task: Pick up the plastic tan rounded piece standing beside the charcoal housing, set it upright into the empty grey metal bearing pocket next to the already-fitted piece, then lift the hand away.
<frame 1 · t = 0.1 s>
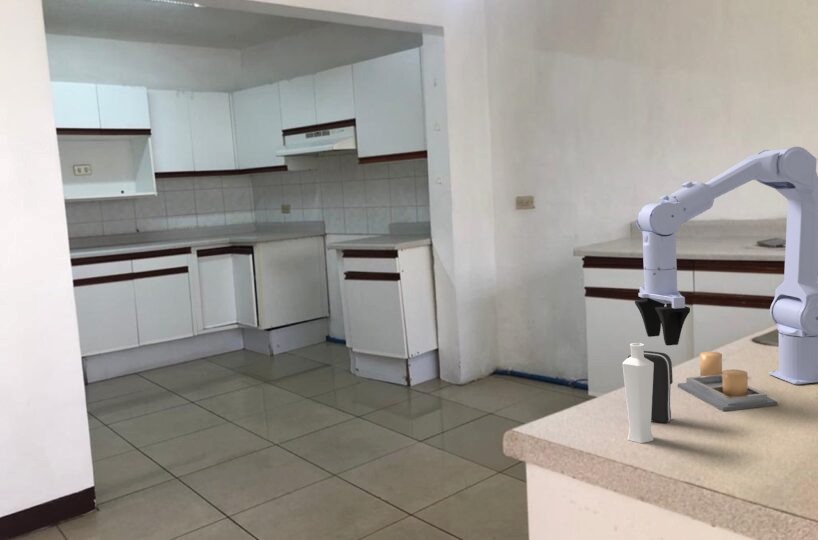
hand: (662, 340, 125), 10 cm above the worktop, fingers open, 7 cm apart
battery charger: (651, 419, 113), on the worktop
tan rounded piece: (711, 375, 134), on the worktop
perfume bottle: (638, 439, 104), on the worktop
housing: (724, 395, 121), on the worktop
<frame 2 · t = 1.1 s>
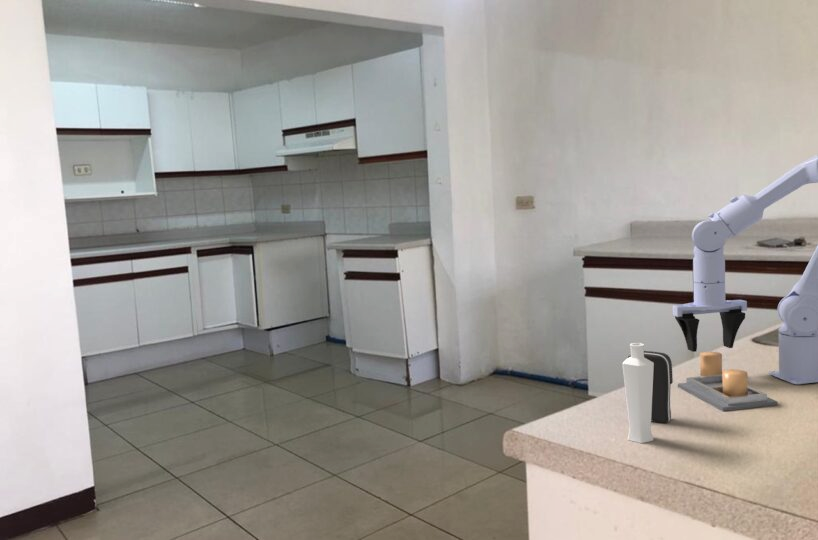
hand: (710, 348, 133), 6 cm above the worktop, fingers open, 7 cm apart
nothing on the worktop moved.
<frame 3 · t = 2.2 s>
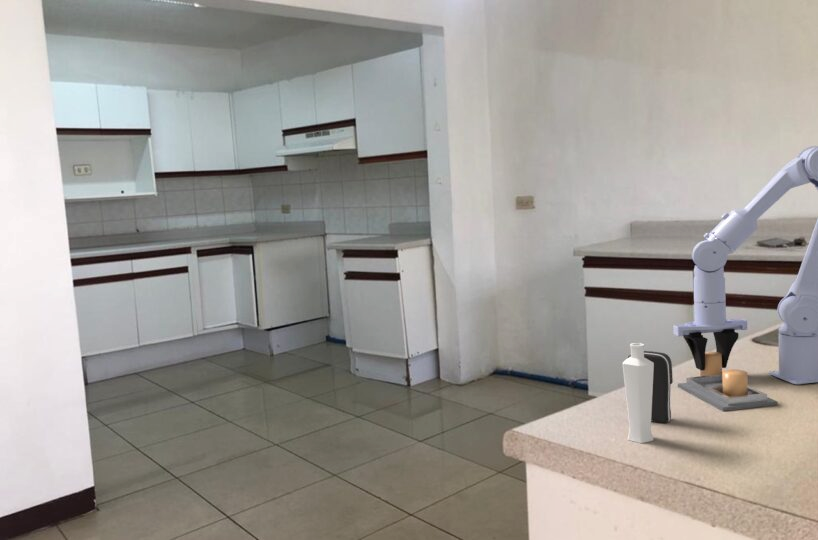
hand: (711, 367, 134), 2 cm above the worktop, fingers closed on tan rounded piece, 4 cm apart
tan rounded piece: (711, 375, 134), on the worktop, touching gripper
everything else where it was.
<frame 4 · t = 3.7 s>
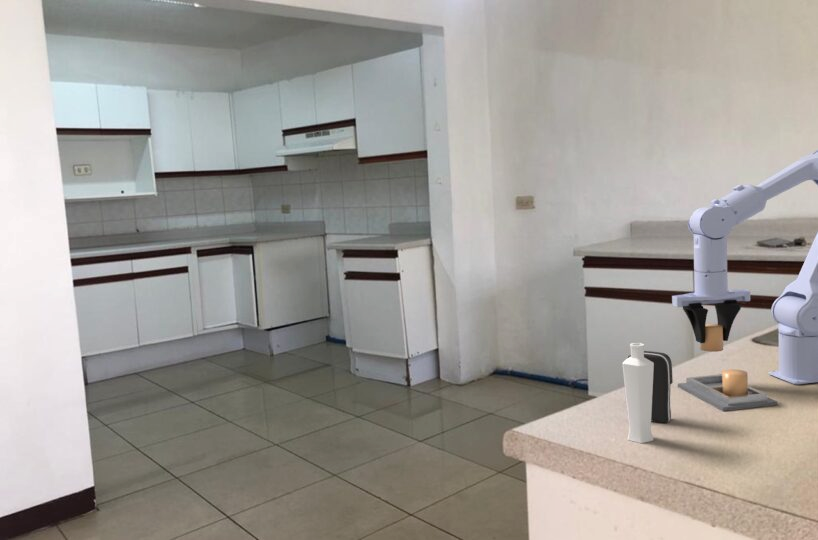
hand: (711, 340, 128), 8 cm above the worktop, fingers closed on tan rounded piece, 4 cm apart
tan rounded piece: (711, 349, 128), point 7 cm above the worktop, touching gripper
everything else where it was.
when the fingers open (3 cm above the worktop, at t = 5.4 s): tan rounded piece stays where it is, resting on housing.
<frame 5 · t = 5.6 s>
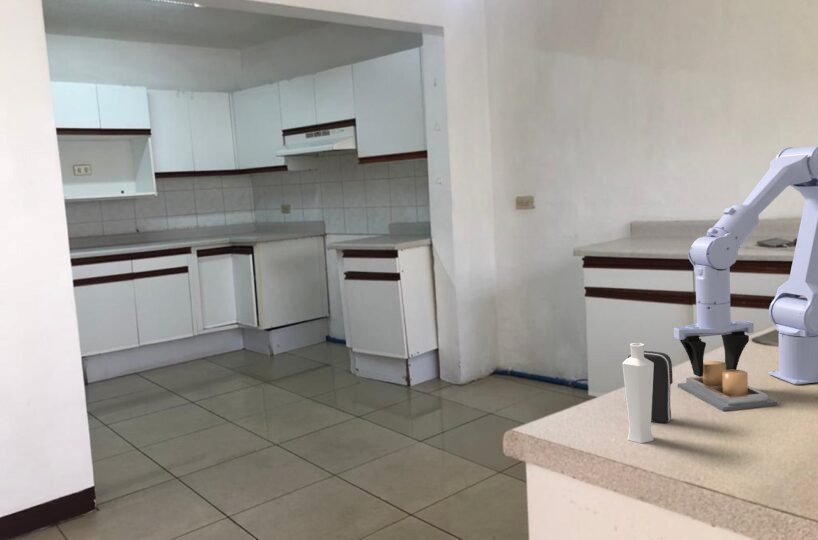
hand: (714, 373, 124), 3 cm above the worktop, fingers open, 6 cm apart
tan rounded piece: (714, 387, 125), point 1 cm above the worktop, touching housing
everything else where it was.
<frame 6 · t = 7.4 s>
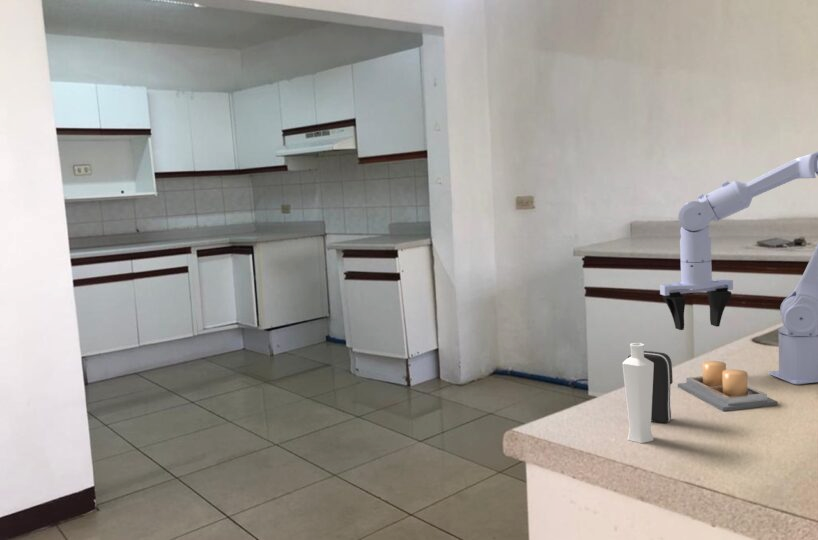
hand: (697, 327, 136), 9 cm above the worktop, fingers open, 7 cm apart
nothing on the worktop moved.
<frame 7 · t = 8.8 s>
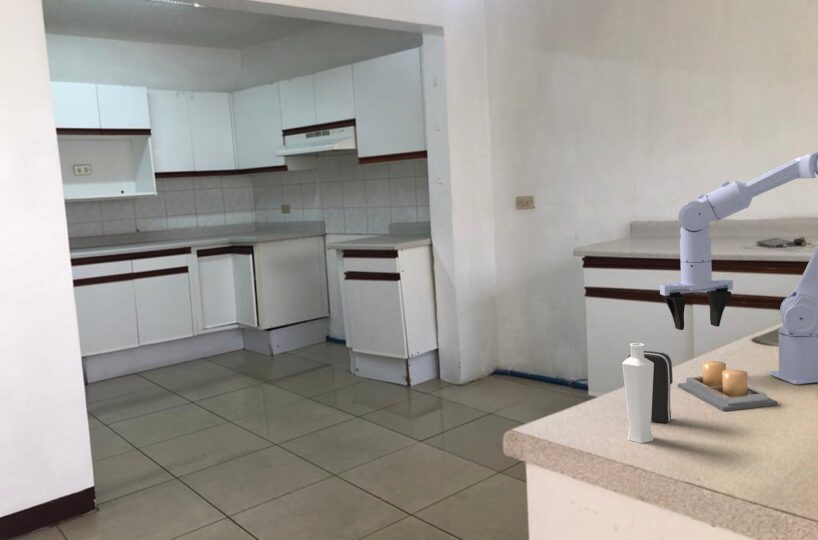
hand: (697, 327, 136), 9 cm above the worktop, fingers open, 7 cm apart
nothing on the worktop moved.
at the end: tan rounded piece 0.1 cm from the target spot on the housing, point 0.6 cm above the housing's base; tan rounded piece tilted 0°; the gripper is holding nothing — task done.
